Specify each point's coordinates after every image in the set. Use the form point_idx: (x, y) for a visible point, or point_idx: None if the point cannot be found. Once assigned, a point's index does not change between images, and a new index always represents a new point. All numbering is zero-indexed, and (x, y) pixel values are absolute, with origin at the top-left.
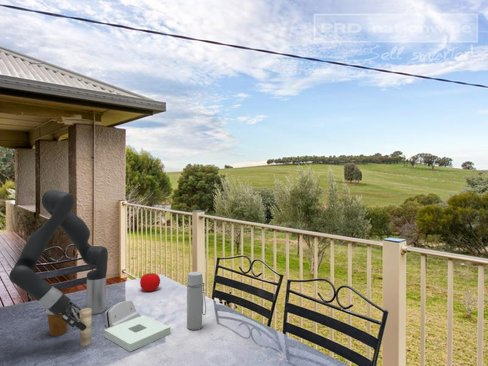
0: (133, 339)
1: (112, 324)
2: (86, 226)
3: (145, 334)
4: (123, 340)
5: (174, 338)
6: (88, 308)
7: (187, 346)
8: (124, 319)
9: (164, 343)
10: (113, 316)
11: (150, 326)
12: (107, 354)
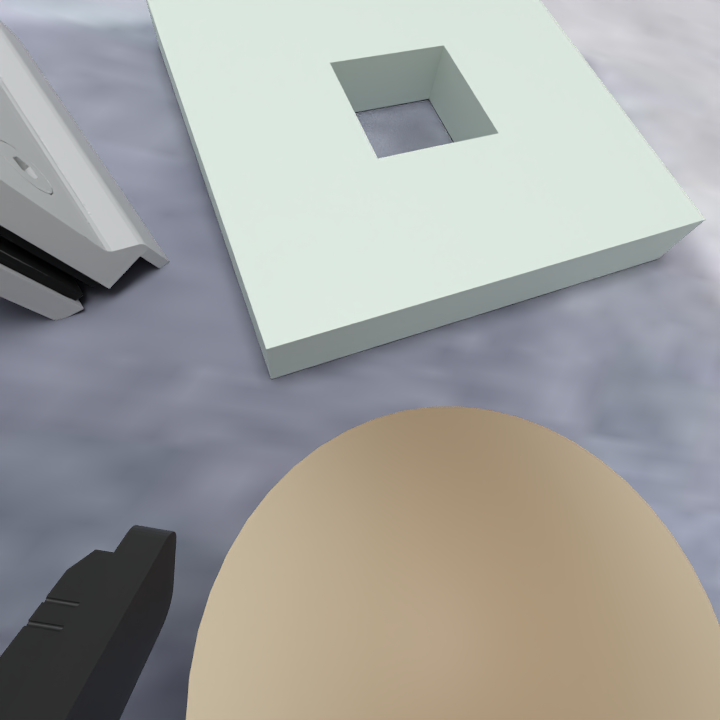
0: (625, 177)
1: (115, 249)
2: None
3: (563, 90)
4: (619, 244)
5: (558, 12)
6: (311, 517)
7: (679, 5)
8: (60, 132)
9: (605, 69)
10: (26, 176)
11: (427, 24)
12: (651, 411)
